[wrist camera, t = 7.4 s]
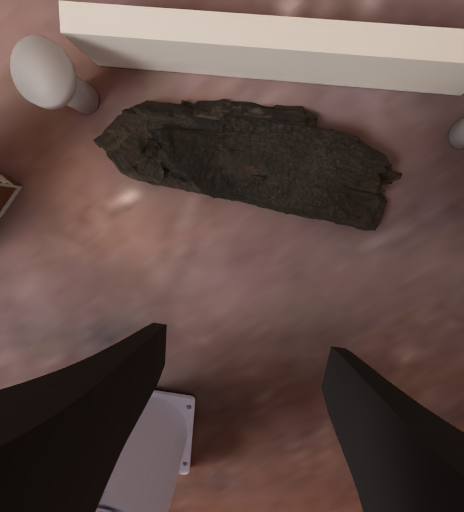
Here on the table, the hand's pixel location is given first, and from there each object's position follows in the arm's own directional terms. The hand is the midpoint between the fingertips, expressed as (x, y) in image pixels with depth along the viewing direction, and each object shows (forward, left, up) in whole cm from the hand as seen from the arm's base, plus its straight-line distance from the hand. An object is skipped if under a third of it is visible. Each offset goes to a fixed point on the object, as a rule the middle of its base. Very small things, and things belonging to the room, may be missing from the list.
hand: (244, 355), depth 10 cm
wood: (+10, +1, -10) cm, 14 cm away
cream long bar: (+13, 0, -10) cm, 17 cm away
